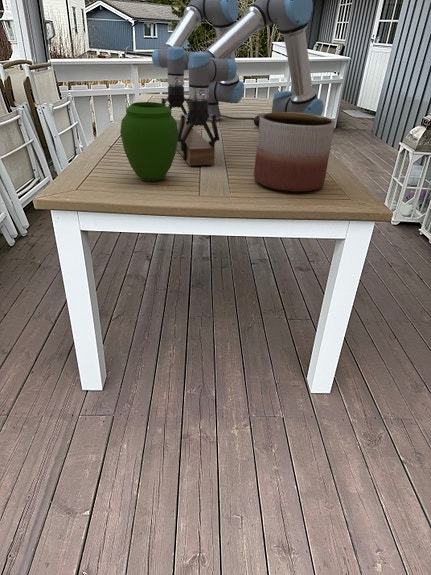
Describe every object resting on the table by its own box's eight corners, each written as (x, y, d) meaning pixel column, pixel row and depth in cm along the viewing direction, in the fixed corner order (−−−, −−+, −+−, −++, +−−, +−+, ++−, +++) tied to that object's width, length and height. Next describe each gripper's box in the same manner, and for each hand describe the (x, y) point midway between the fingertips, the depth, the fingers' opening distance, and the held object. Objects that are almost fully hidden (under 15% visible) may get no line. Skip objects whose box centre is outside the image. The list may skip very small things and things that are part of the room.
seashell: (267, 127, 236) (269, 112, 232) (270, 129, 231) (271, 114, 227) (251, 126, 235) (253, 111, 230) (253, 128, 230) (255, 113, 226)
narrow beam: (163, 133, 206) (163, 120, 203) (183, 133, 208) (183, 120, 205) (189, 165, 160) (189, 149, 157) (214, 164, 163) (214, 148, 159)
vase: (131, 189, 135) (125, 110, 122) (118, 172, 150) (112, 100, 137) (186, 184, 142) (187, 109, 129) (169, 168, 157) (167, 99, 144)
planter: (334, 194, 140) (348, 126, 129) (263, 195, 136) (271, 125, 125) (308, 172, 162) (318, 112, 150) (246, 172, 157) (251, 111, 146)
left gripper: (152, 86, 183) (154, 137, 195) (201, 86, 189) (200, 136, 201) (150, 84, 189) (152, 134, 201) (197, 84, 195) (196, 133, 207)
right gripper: (171, 101, 149) (172, 162, 161) (229, 100, 155) (226, 160, 167) (167, 97, 155) (168, 157, 167) (223, 98, 161) (221, 155, 173)
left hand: (176, 135), depth 201 cm, fingers closed on narrow beam, 10 cm apart
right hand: (197, 158), depth 167 cm, fingers closed on narrow beam, 10 cm apart
